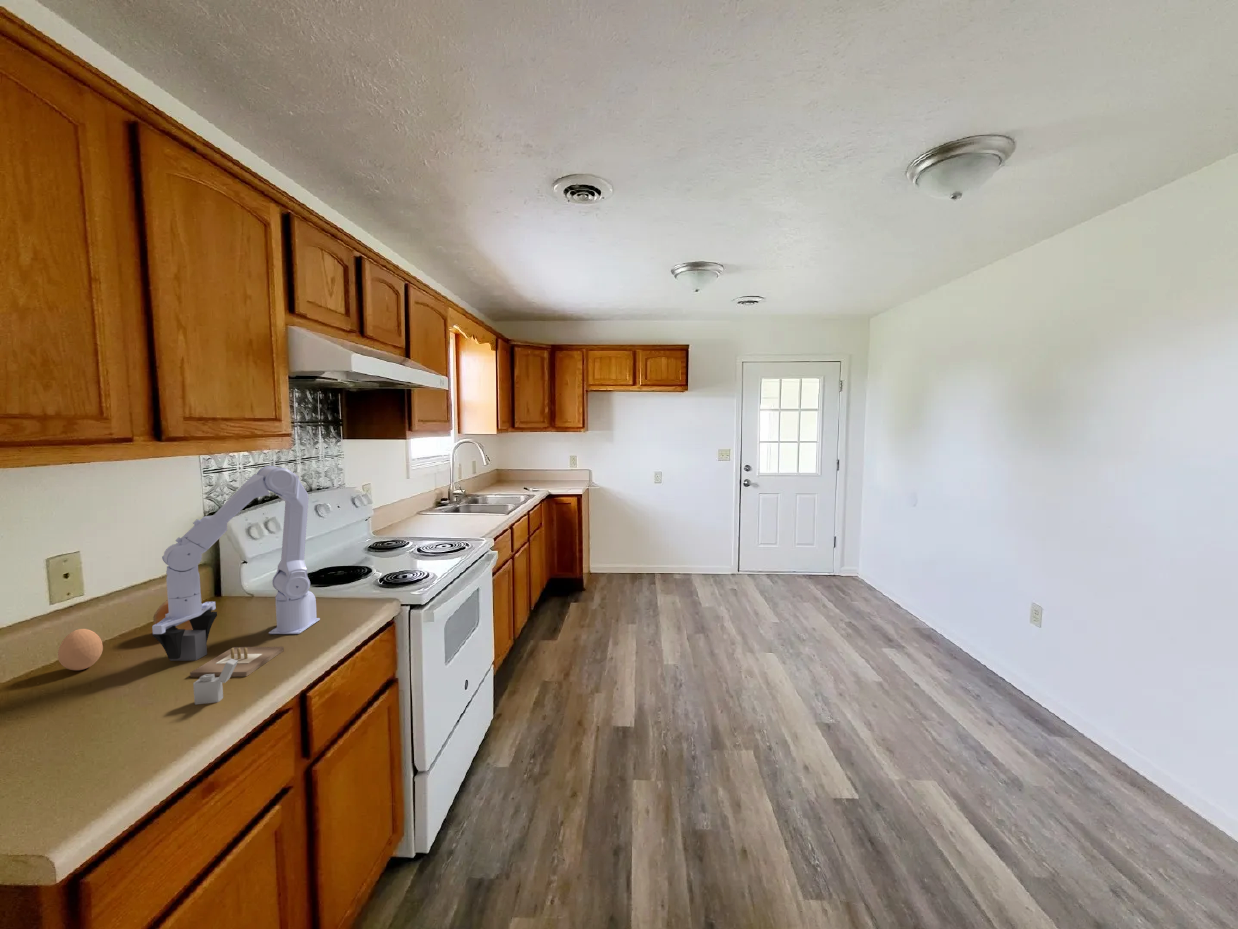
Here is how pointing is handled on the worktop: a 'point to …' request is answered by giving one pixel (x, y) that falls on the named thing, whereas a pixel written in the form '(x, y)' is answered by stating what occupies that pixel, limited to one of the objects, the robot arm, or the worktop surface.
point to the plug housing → (193, 645)
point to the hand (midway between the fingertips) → (188, 650)
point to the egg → (80, 649)
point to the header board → (239, 661)
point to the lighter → (212, 685)
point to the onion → (160, 616)
